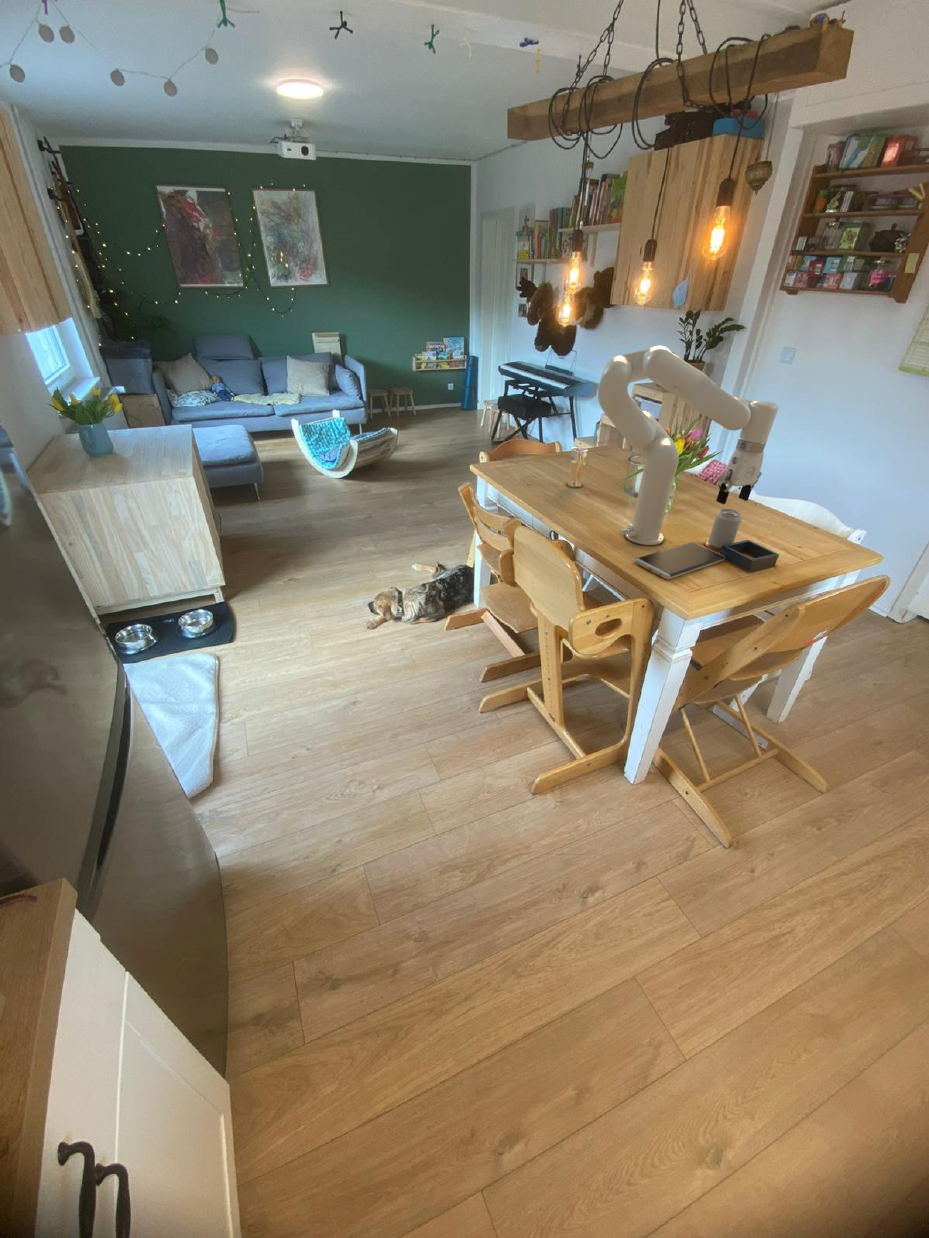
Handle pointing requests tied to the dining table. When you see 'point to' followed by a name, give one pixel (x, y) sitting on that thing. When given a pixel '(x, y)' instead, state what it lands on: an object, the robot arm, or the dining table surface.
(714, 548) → the coaster
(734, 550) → the dark square tray
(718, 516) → the can
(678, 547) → the smartphone
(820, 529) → the dining table surface
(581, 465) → the beer glass
